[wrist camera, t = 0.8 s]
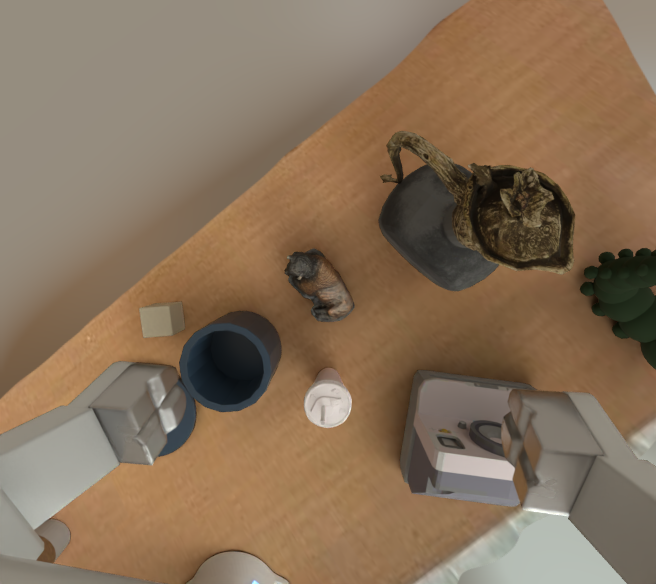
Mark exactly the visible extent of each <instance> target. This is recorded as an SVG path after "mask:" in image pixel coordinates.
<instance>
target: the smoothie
mask: <svg viewBox="0 0 656 584" xmlns="http://www.w3.org/2000/svg"><path fill="white" fill-rule="evenodd" d="M351 401H352V400H351V396H350V393H349V392H348V390H347V388H346V387H345V386H344V385H343V382H342V380H341V377H340V375H339V373H338V372H337V371H336V370H335V369H333V368H324V369H322V370H321V371H320V372H319V373H318V375H317V377H316V379H315V381H314V383H313V385H312V386H311V387H310V388H309V389H308V391H307V392H306V395H305V398H304V410H305V413H306V415H307V417H308V418H309V419H310V421H312V422H313V423H314V424H316V425H318V426H320V427H325V428H330V427H335V426H338V425H340V424H341V423H343V422H344V421H345V420H346V419H347V417H348V416H349V414H350V411H351Z"/></svg>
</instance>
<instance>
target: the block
mask: <svg viewBox="0 0 656 584" xmlns="http://www.w3.org/2000/svg"><path fill="white" fill-rule="evenodd" d="M139 311H140V318H141V325H142V332H143V338H148V337H161V336H173V335H175V334H177V333H179V332H180V331H182V330H184V329H185V322H184V314H183V307H182V302H168V303H155V304H151V305H148V306H145V307H141V308H139Z"/></svg>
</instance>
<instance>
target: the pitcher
mask: <svg viewBox="0 0 656 584" xmlns="http://www.w3.org/2000/svg"><path fill="white" fill-rule="evenodd" d="M386 146H387V148H388V153H389V155H390V158H391V161H392V163H393V166H394V168H395V171H396V174H397V179H394V178H392V177H391V176H392V174H391V175H382V176H380V177H381V179H382V180H383V183H386V182H394V183H398V184H397V186H396V187H395V188H394V189H393V191H392V192H391V193H390V195H389V196H388V198H387V200H386V202H385V203H384V205H383V207H382V211H381V214H380V217H379V226H380V229H381V232H382V234H383V236H384V237H385V238H386V239H387V240H388V241H389V243H390V244H391V245H392V246H393V247H394V248H395V249H396V250H397V251H398V252H399V253H400V254H401V255H402V256H403V257H404V258H405V259H406V260H407V261H408V262H409V263H410V264H411V265H413V266H414V267H415V268H416V269H417V270H418V271H419V272H421V273H422V274H423V275H424V276H426V277H427V278H428V279H429V280H431V281H432V282H433V283H435V284H436V285H438V286H440V287H442V288H444V289H447V290H450V291H460V290H463V289H466V288H469V287H471V286H473V285H475V284H476V283H478V282H480V281H482V280H483V279H485V278H486V277H487V276H488V275H490V274H491V273H492V272H493V271H494V270H495V269H496V268H497V267H498V266H499V265H502V266H505V267H508V268H510V269H513V270H515V271H523V270H544V271H550V272H554V273H557V274H561V275H562V274H564V273H566V272H568V271H570V270H571V269H572V266H573V263H574V256H573V235H574V224H575V213H574V211H573V209H572V207H571V204H570V202H569V200H568V198H567V196H566V195H565V194H564V192H563V191H562V190H561V188H560V187H559V185H558V184H556V183H555V182H554V181H553V180H551V179H550V178H549V177H548V176H546V175H545V174H544V173H541V172H538V171H534V168H529V169H524V168H520V167H516V166H510V165H499V166H495V167H490V166H487V165H484V166H477V165H476V164H475V163H473V164H470V165H468V167H470V169H471V170H472V171H473V172H474V173H471V172H469V171H468V170H467V169H465V168H464V167H462V166H460V165H457V164H454V162H453V160H452V159H451V158H449V157H448V156H446V155H445V154H443V153H442V152H441V151H440V150H438V149H437V148H436V147H435V146H433V145H432V144H431V143H429V142H428V141H427V140H425V139H424V138H422V137H421V136H419V135H417V134H415V133H411V132H406V131H400V132H397V133H395V134H394V135H393V136H392V138H391V139H390V141H389V142H388V144H387V145H386ZM401 147H402V148H405V149H408V150H410V151H411V152H412V153H414V154H416V155H417V156H419V157H420V158H421V159H422V160H423V161H424V162H425V163H426V164H427V165H425V166H422V167H420V168H418V169H417V170H415V171H414V172H412V173H411V174H409V175H407V176H406V177H405V178H404V179H403V170H402V164H401V160H400V155H399V153H400V151H401Z"/></svg>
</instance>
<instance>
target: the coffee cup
mask: <svg viewBox="0 0 656 584" xmlns="http://www.w3.org/2000/svg"><path fill="white" fill-rule="evenodd" d="M34 531H35V532H36V533H37V534H38V536H39V537H40V538H41V539H42V541H43V542H44V551H43V552H42V553H41V555H40V556H39V557H38V558H37V560H36V561H42V562H48V563H54V562H55V560H56V559H57V558H58V557H59V555H60V554H61V553H62V552H63V550H64V549H65V548H66V546H67V545H68V544H69V541H70V531H69V529H68V527H67V526H66V525H65V524H64V523H62V522H61V521H58V520H55V519H49V520H47V521H45V522H44V523H43V524H41V525H40V526H39V527H37V528H36V529H35V530H34Z"/></svg>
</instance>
